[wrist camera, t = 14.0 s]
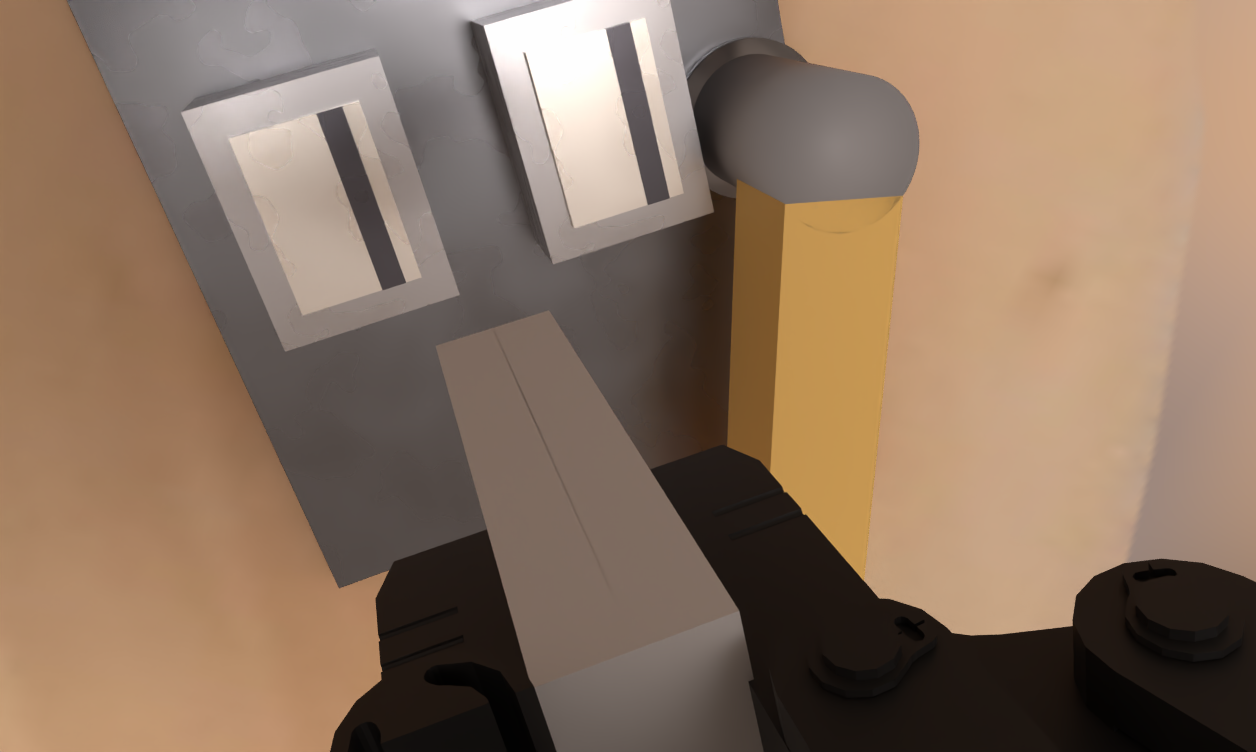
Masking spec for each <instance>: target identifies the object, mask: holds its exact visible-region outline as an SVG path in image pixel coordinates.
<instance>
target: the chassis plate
mask: <svg viewBox="0 0 1256 752" xmlns="http://www.w3.org/2000/svg"><path fill="white" fill-rule="evenodd" d="M67 2H68V4H69V6H70V8H71V10H72V13H73V15H74V17H75V19H76V21H77V23H78V26H79V28H80V30H81V32H82V34H83V36H84V38H85V41H86V43H87V45H88V47H89V49H90V51H91V54H92V56H93V58H94V60H95V62H96V64H97V67H98V69H99V71H100V73H101V75H102V77H103V80H104V82H105V84H106V86H107V88H108V90H109V92H110V95H111V97H112V99H113V101H114V103H115V105H116V108H117V110H118V112H119V114H120V116H121V118H122V121H123V123H124V125H125V127H126V129H127V131H128V133H129V136H130V138H131V140H132V142H133V144H134V146H135V149H136V151H137V153H138V155H139V157H140V159H141V162H142V164H143V166H144V168H145V170H146V172H147V175H148V177H149V179H150V181H151V183H152V185H153V187H154V190H155V192H156V194H157V196H158V198H159V200H160V203H161V205H162V207H163V209H164V211H165V213H166V216H167V218H168V220H169V222H170V224H171V226H172V229H173V231H174V233H175V235H176V237H177V239H178V241H179V244H180V246H181V248H182V250H183V252H184V254H185V257H186V259H187V261H188V263H189V265H190V267H191V270H192V272H193V274H194V276H195V278H196V280H197V282H198V285H199V287H200V289H201V291H202V293H203V295H204V298H205V300H206V302H207V304H208V306H209V308H210V311H211V313H212V315H213V317H214V319H215V321H216V324H217V326H218V328H219V330H220V332H221V334H222V336H223V339H224V341H225V343H226V345H227V347H228V349H229V352H230V354H231V356H232V358H233V360H234V362H235V365H236V367H237V369H238V371H239V373H240V375H241V377H242V380H243V382H244V384H245V386H246V388H247V390H248V393H249V395H250V397H251V399H252V401H253V403H254V406H255V408H256V410H257V412H258V414H259V416H260V419H261V421H262V423H263V425H264V427H265V429H266V431H267V434H268V436H269V438H270V440H271V442H272V444H273V447H274V449H275V451H276V453H277V455H278V457H279V460H280V462H281V464H282V466H283V468H284V470H285V472H286V475H287V477H288V479H289V481H290V483H291V485H292V488H293V490H294V492H295V494H296V496H297V498H298V501H299V503H300V505H301V507H302V509H303V511H304V514H305V516H306V518H307V520H308V522H309V524H310V526H311V529H312V531H313V533H314V535H315V537H316V539H317V542H318V544H319V546H320V548H321V550H322V552H323V555H324V557H325V559H326V561H327V563H328V565H329V567H330V570H331V572H332V574H333V576H334V578H335V580H336V583H337V585H338V587H339V588H341V587H344V586H347V585H349V584H352V583H355V582H358V581H360V580H363V579H366V578H369V577H371V576H374V575H377V574H380V573H382V572H385V571H388V570H390V568H391V566H392V564H393V562H394V561H397V560H400V559H403V558H405V557H408V556H411V555H414V554H417V553H420V552H423V551H426V550H429V549H431V548H434V547H437V546H440V545H443V544H446V543H449V542H452V541H455V540H457V539H460V538H463V537H466V536H469V535H472V534H475V533H478V532H481V531H484V530H486V529H487V527H486V524H485V520H484V517H483V513H482V509H481V506H480V502H479V499H478V495H477V492H476V488H475V485H474V481H473V477H472V474H471V470H470V467H469V463H468V460H467V456H466V453H465V449H464V445H463V442H462V438H461V435H460V431H459V428H458V424H457V421H456V417H455V413H454V410H453V406H452V403H451V399H450V396H449V392H448V389H447V385H446V381H445V378H444V374H443V371H442V367H441V364H440V360H439V357H438V353H437V349H436V346H437V345H440V344H443V343H446V342H449V341H453V340H456V339H459V338H462V337H465V336H469V335H472V334H475V333H478V332H481V331H485V330H488V329H491V328H494V327H497V326H501V325H504V324H507V323H510V322H513V321H517V320H520V319H523V318H526V317H529V316H532V315H536V314H539V313H542V312H545V311H548V310H549V311H550V313H551V314H552V316H553V317H554V319H555V321H556V322H557V324H558V325H559V327H560V328H561V330H562V332H563V333H564V335H565V336H566V338H567V340H568V341H569V343H570V344H571V346H572V347H573V349H574V351H575V352H576V354H577V355H578V357H579V358H580V360H581V362H582V363H583V365H584V366H585V368H586V370H587V371H588V373H589V374H590V376H591V377H592V379H593V381H594V382H595V384H596V385H597V387H598V388H599V390H600V392H601V393H602V395H603V396H604V398H605V400H606V401H607V403H608V404H609V406H610V407H611V409H612V411H613V412H614V414H615V415H616V417H617V419H618V420H619V422H620V423H621V425H622V426H623V428H624V430H625V431H626V433H627V434H628V436H629V437H630V439H631V441H632V442H633V444H634V445H635V447H636V449H637V450H638V452H639V453H640V455H641V456H642V458H643V460H644V461H645V463H646V464H647V466H648V467H649V469H652V468H655V467H658V466H661V465H664V464H667V463H670V462H673V461H676V460H678V459H681V458H684V457H687V456H690V455H693V454H696V453H699V452H702V451H705V450H707V449H710V448H713V447H716V446H719V445H725V446H727V438H728V411H729V383H730V355H731V328H732V300H733V272H734V245H735V217H736V190H737V188H736V187H735V186H733V185H731V184H729V183H727V182H725V181H724V180H722V179H720V178H719V177H717V176H716V175H714V174H713V173H712V172H711V171H710V170H709V169H708V168H707V167H706V166H705V165H704V161H703V156H702V152H701V147H700V142H699V137H698V133H697V128H696V123H695V118H694V113H693V111H694V106H695V103H696V100H697V98H698V95H699V93H700V91H701V89H702V88H703V86H704V84H705V83H706V81H707V80H708V79H709V78H710V76H711V75H712V74H713V73H714V72H715V71H716V70H717V69H719V68H720V67H721V66H723V65H724V64H725V63H727V62H729V61H731V60H733V59H735V58H738V57H740V56H744V55H748V54H766V55H771V56H776V57H781V58H786V59H791V60H796V61H801V62H806V63H807V61H806V60H805V59H804V58H803V57H802V56H801V55H800V54H799V53H797V52H796V51H795V50H794V49H792V48H790V47H789V46H787V45H785V43H784V37H783V31H782V25H781V18H780V12H779V6H778V0H67Z"/></svg>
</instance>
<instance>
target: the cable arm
mask: <svg viewBox="0 0 1256 752" xmlns="http://www.w3.org/2000/svg"><path fill="white" fill-rule="evenodd" d="M693 113H694V118H695V123H696V128H697V133H698V137H699V142H700V147H701V152H702V156H703V161H704V165H705V166H706V167H707V168H708V169H709V170H710V171H711V172H712V173H713V174H714V175H716V176H717V177H719V178H720V179H722V180H724V181H725V182H727V183H729V184H731V185H733V186H735V187H736V188H737V190H736V217H735V245H734V272H733V300H732V328H731V355H730V383H729V411H728V438H727V447H729V448H732V449H734V450H736V451H739V452H741V453H743V454H746V455H748V456H751V457H753V458H755V459H758V460H760V461H761V462H762V464H763V465H764V466H765V467H766V468H767V469H768V471H769V472H770V473H771V474H772V475H773V476H774V477H775V479H776V480H777V481H778V482H779V483H780V484H781V486H782V487H783V490H784V492H787V493H788V494H789V495H790V496H791V497H792V498H793V499H794V501H795V502H796V503H797V504H798V505H799V506H800V508H801V509H802V512H803V514H804V515H805V514H806V515H807V516H808V517H809V518H810V519H811V520H812V521H813V523H814V524H815V525H816V526H817V527H818V528H819V530H820V531H821V532H822V533H823V534H824V535H825V537H826V538H827V539H828V540H829V541H830V542H831V543H832V545H833V546H834V547H835V548H836V549H837V550H838V552H839V553H840V554H841V555H842V556H843V557H844V559H845V560H846V561H847V562H848V563H849V564H850V565H851V567H852V568H853V569H854V570H855V571H856V572H857V574H858V575H859V576H860V577H861V578H862V579H863V581H864V575H865V565H866V555H867V546H868V536H869V526H870V516H871V506H872V496H873V486H874V477H875V467H876V457H877V447H878V437H879V427H880V417H881V408H882V398H883V388H884V378H885V368H886V358H887V348H888V339H889V329H890V319H891V309H892V299H893V289H894V279H895V270H896V260H897V250H898V240H899V230H900V220H901V210H902V200H903V195H904V193H905V192H906V190H907V188H908V186H909V184H910V182H911V180H912V177H913V175H914V172H915V169H916V165H917V161H918V155H919V131H918V126H917V121H916V118H915V115H914V112H913V110H912V108H911V106H910V104H909V103H908V101H907V100H906V98H905V97H904V96H903V95H902V94H901V93H900V91H899V90H898V89H896V88H895V87H894V86H893V85H891V84H890V83H888V82H886V81H884V80H883V79H880V78H877V77H875V76H870V75H865V74H860V73H855V72H851V71H846V70H841V69H836V68H831V67H826V66H821V65H816V64H811V63H806V62H801V61H796V60H791V59H786V58H781V57H776V56H771V55H766V54H748V55H744V56H740V57H738V58H735V59H733V60H731V61H729V62H727V63H725V64H724V65H723V66H721V67H720V68H719V69H717V70H716V71H715V72H714V73H713V74H712V75H711V76H710V78H709V79H708V80H707V81H706V83H705V84H704V86H703V88H702V89H701V91H700V93H699V95H698V98H697V100H696V103H695V106H694V111H693Z"/></svg>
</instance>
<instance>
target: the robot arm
mask: <svg viewBox="0 0 1256 752" xmlns="http://www.w3.org/2000/svg"><path fill="white" fill-rule="evenodd" d="M436 349H437V353H438V357H439V360H440V364H441V367H442V371H443V374H444V378H445V381H446V385H447V389H448V392H449V396H450V399H451V403H452V406H453V410H454V413H455V417H456V421H457V424H458V428H459V431H460V435H461V438H462V442H463V445H464V449H465V453H466V456H467V460H468V463H469V467H470V470H471V474H472V477H473V481H474V485H475V488H476V492H477V495H478V499H479V502H480V506H481V509H482V513H483V517H484V520H485V524H486V527H487V529H486V530H484V531H481V532H478V533H475V534H472V535H469V536H466V537H463V538H460V539H457V540H455V541H452V542H449V543H446V544H443V545H440V546H437V547H434V548H431V549H429V550H426V551H423V552H420V553H417V554H414V555H411V556H408V557H405V558H403V559H400V560H397V561H394V562H393V564H392V566H391V568H390V570H389V572H388V574H387V576H386V578H385V581H384V583H383V585H382V587H381V589H380V591H379V593H378V595H377V597H376V611H377V624H378V635H379V638H380V641H379V651H380V664H381V667H382V671H383V672H381V677H382V680H381V681H380V682H379V683H377V684H376V685H375V686H374V687H373V688H371V689H370V690H369V691H368V692H367V693H365V694H364V695H363V696H362V697H361V698H359V699H358V700H357V701H356V702H355V704H354V705H353V707H352V708H351V709H350V711H349V712H348V714H347V715H346V717H345V718H344V720H343V721H342V722H341V724H340V725H339V727H338V728H337V730H336V731H335V734H334V738H333V742H332V746H331V750H330V752H1256V582H1254V581H1252V580H1250V579H1248V578H1246V577H1244V576H1241V575H1238V574H1235V573H1232V572H1229V571H1225V570H1222V569H1219V568H1216V567H1213V566H1210V565H1207V564H1204V563H1198V562H1188V561H1178V560H1169V559H1155V560H1148V561H1139V562H1131V563H1124V564H1121V565H1119V566H1117V567H1114V568H1112V569H1110V570H1107V571H1105V572H1103V573H1100V574H1098V575H1096V576H1094V577H1093V578H1092V579H1091V580H1090V581H1089V582H1088V583H1087V585H1086V586H1085V587H1084V588H1083V589H1082V590H1081V591H1080V592H1079V593H1078V594H1077V595H1076V601H1075V607H1074V614H1073V626H1070V627H1061V628H1053V629H1044V630H1036V631H1027V632H1019V633H1010V634H1001V635H974V636H971V635H963V634H955V633H951V632H950V631H949V630H948V628H947V627H945V626H944V625H943V624H941V623H940V622H938V621H937V620H936V619H934V618H933V617H932V616H930V615H929V614H927V613H926V612H925V611H923V610H922V609H919V608H916V607H913V606H910V605H907V604H904V603H900V602H897V601H894V600H891V599H879V598H878V597H877V596H876V594H875V593H874V592H873V591H872V590H871V589H870V587H869V586H868V585H867V584H866V583H865V582H864V581H863V579H862V578H861V577H860V576H859V575H858V574H857V572H856V571H855V570H854V569H853V568H852V567H851V565H850V564H849V563H848V562H847V561H846V560H845V559H844V557H843V556H842V555H841V554H840V553H839V552H838V550H837V549H836V548H835V547H834V546H833V545H832V543H831V542H830V541H829V540H828V539H827V538H826V537H825V535H824V534H823V533H822V532H821V531H820V530H819V528H818V527H817V526H816V525H815V524H814V523H813V521H812V520H811V519H810V518H809V517H808V516H807V515H806V514H805V515H804V514H803V512H802V509H801V508H800V506H799V505H798V504H797V503H796V502H795V501H794V499H793V498H792V497H791V496H790V495H789V494H788V493H787V492H784V490H783V487H782V486H781V484H780V483H779V482H778V481H777V480H776V479H775V477H774V476H773V475H772V474H771V473H770V472H769V471H768V469H767V468H766V467H765V466H764V465H763V464H762V462H761V461H760V460H758V459H755V458H753V457H751V456H748V455H746V454H743V453H741V452H739V451H736V450H734V449H732V448H729V447H727V446H725V445H719V446H716V447H713V448H710V449H707V450H705V451H702V452H699V453H696V454H693V455H690V456H687V457H684V458H681V459H678V460H676V461H673V462H670V463H667V464H664V465H661V466H658V467H655V468H652V469H649V467H648V466H647V464H646V463H645V461H644V460H643V458H642V456H641V455H640V453H639V452H638V450H637V449H636V447H635V445H634V444H633V442H632V441H631V439H630V437H629V436H628V434H627V433H626V431H625V430H624V428H623V426H622V425H621V423H620V422H619V420H618V419H617V417H616V415H615V414H614V412H613V411H612V409H611V407H610V406H609V404H608V403H607V401H606V400H605V398H604V396H603V395H602V393H601V392H600V390H599V388H598V387H597V385H596V384H595V382H594V381H593V379H592V377H591V376H590V374H589V373H588V371H587V370H586V368H585V366H584V365H583V363H582V362H581V360H580V358H579V357H578V355H577V354H576V352H575V351H574V349H573V347H572V346H571V344H570V343H569V341H568V340H567V338H566V336H565V335H564V333H563V332H562V330H561V328H560V327H559V325H558V324H557V322H556V321H555V319H554V317H553V316H552V314H551V313H550V311H549V310H548V311H545V312H542V313H539V314H536V315H532V316H529V317H526V318H523V319H520V320H517V321H513V322H510V323H507V324H504V325H501V326H497V327H494V328H491V329H488V330H485V331H481V332H478V333H475V334H472V335H469V336H465V337H462V338H459V339H456V340H453V341H449V342H446V343H443V344H440V345H437V346H436Z"/></svg>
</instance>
